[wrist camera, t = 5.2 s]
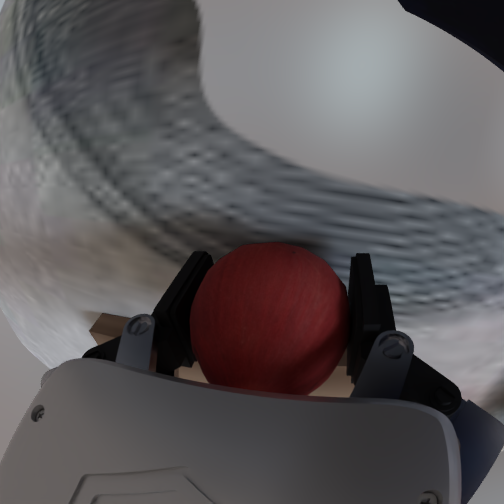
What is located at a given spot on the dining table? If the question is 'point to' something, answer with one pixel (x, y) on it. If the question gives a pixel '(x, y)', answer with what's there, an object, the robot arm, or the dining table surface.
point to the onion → (270, 320)
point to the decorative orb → (467, 23)
